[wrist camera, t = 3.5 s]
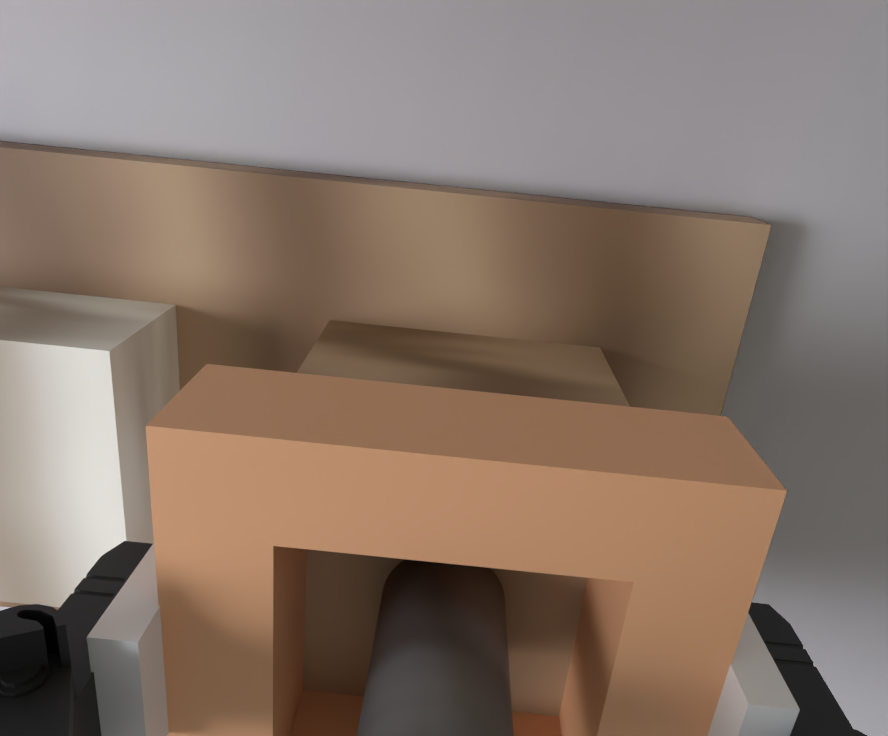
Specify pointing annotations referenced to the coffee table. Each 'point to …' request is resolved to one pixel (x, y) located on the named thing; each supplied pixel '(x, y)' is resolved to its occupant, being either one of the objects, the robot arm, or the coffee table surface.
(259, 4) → the coffee table surface
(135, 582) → the robot arm
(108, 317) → the stand
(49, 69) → the coffee table surface
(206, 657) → the square frame
